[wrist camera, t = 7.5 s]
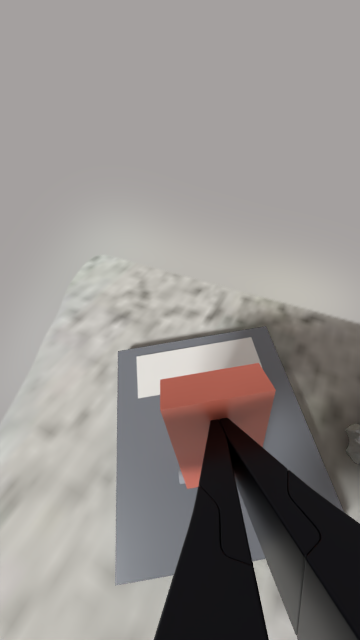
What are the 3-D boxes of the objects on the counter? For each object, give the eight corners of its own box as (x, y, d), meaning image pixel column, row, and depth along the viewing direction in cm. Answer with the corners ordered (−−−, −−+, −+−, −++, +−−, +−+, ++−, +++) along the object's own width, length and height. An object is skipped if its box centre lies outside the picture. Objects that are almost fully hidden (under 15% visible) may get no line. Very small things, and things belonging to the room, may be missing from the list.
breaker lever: (261, 478, 13) (287, 387, 8) (181, 492, 13) (148, 411, 8) (252, 453, 15) (268, 361, 9) (179, 465, 15) (150, 381, 9)
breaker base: (340, 529, 13) (359, 544, 12) (123, 568, 13) (114, 587, 12) (261, 331, 21) (266, 325, 19) (122, 355, 21) (117, 350, 19)
